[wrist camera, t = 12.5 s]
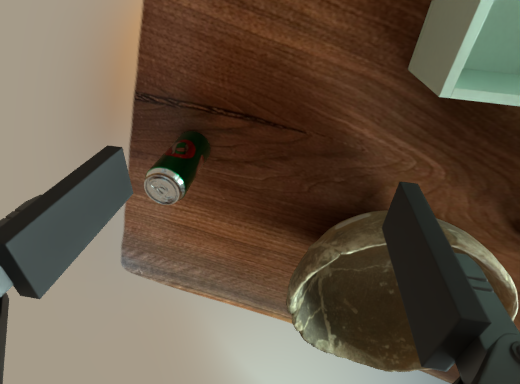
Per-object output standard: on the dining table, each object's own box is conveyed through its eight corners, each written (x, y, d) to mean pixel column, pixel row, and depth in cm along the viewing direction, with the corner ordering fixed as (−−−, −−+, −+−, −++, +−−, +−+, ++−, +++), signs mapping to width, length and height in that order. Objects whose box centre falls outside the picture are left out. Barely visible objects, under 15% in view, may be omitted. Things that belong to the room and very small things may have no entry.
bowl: (293, 164, 43) (285, 234, 31) (494, 170, 39) (576, 253, 27) (291, 284, 59) (285, 361, 47) (435, 297, 55) (469, 385, 43)
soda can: (198, 166, 46) (167, 214, 36) (172, 144, 44) (133, 188, 34) (218, 146, 43) (190, 192, 33) (191, 122, 42) (154, 163, 32)
